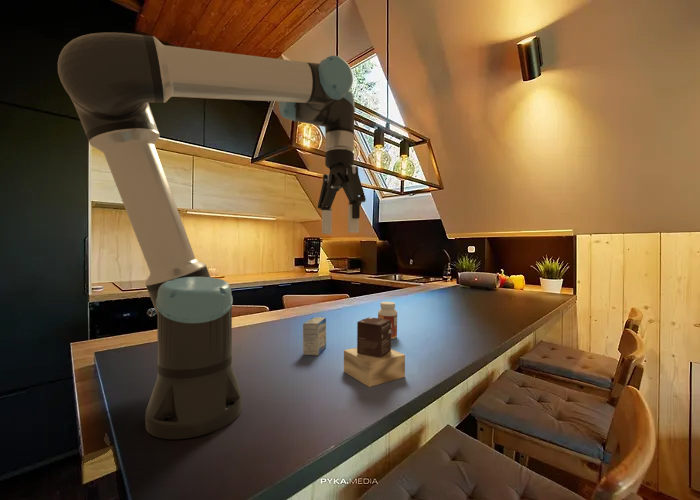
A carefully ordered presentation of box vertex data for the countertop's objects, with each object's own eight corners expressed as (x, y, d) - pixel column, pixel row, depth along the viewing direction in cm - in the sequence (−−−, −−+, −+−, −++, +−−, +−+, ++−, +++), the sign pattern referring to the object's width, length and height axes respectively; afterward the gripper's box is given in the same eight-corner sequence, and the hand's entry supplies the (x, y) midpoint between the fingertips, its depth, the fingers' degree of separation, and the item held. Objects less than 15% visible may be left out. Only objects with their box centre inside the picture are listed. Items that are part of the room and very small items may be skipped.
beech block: (368, 387, 69) (369, 363, 69) (343, 371, 77) (343, 350, 77) (404, 376, 74) (405, 354, 74) (377, 363, 82) (377, 343, 82)
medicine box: (318, 356, 88) (318, 323, 87) (302, 355, 88) (302, 323, 88) (326, 347, 95) (326, 317, 95) (311, 346, 96) (311, 316, 96)
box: (380, 358, 71) (380, 325, 71) (356, 353, 74) (356, 321, 74) (391, 350, 77) (391, 319, 76) (368, 346, 80) (368, 316, 80)
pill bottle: (374, 338, 105) (374, 303, 104) (382, 333, 110) (382, 300, 110) (393, 340, 102) (393, 305, 102) (399, 336, 107) (399, 302, 107)
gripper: (380, 141, 77) (380, 232, 78) (329, 163, 98) (328, 234, 99) (353, 136, 73) (353, 231, 74) (306, 160, 94) (306, 233, 95)
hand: (339, 233), depth 86 cm, fingers open, 13 cm apart
